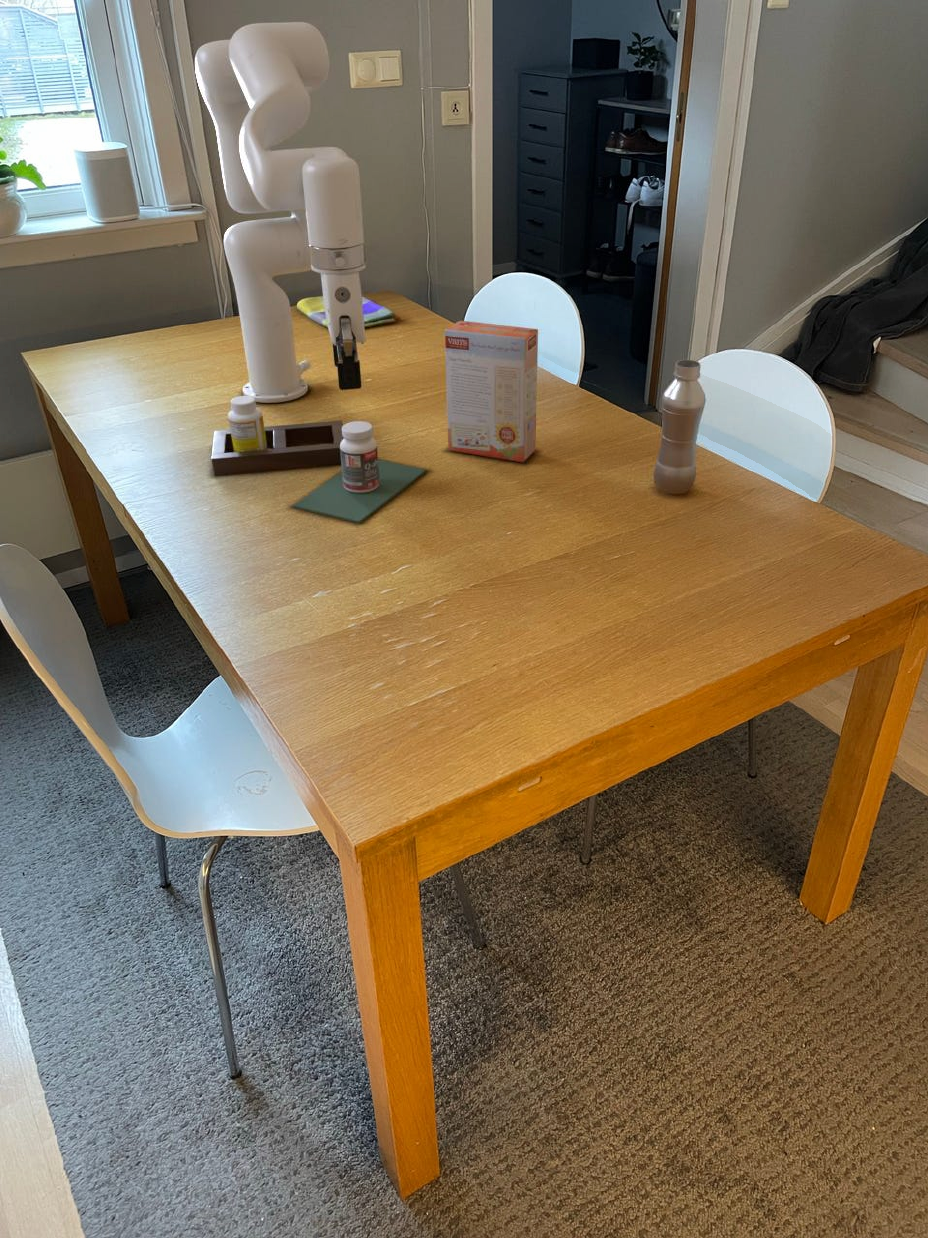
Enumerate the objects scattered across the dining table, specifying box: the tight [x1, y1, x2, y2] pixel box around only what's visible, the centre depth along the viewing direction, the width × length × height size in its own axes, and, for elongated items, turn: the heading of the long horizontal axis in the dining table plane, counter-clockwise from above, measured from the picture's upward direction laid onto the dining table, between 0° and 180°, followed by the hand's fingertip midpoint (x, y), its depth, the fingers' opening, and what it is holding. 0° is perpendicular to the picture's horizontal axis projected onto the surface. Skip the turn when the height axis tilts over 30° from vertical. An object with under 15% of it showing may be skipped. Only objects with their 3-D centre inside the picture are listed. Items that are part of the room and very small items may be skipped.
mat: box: [293, 458, 427, 524], centre depth 146 cm, size 20×12×1 cm, turn 152°
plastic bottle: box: [653, 359, 707, 495], centre depth 139 cm, size 6×7×20 cm
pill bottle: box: [340, 420, 379, 493], centre depth 144 cm, size 6×6×10 cm
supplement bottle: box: [227, 395, 268, 452], centre depth 154 cm, size 6×6×10 cm
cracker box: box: [444, 320, 539, 463], centre depth 152 cm, size 14×6×21 cm, turn 65°
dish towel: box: [296, 295, 396, 329], centre depth 225 cm, size 18×24×3 cm
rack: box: [211, 419, 344, 477], centre depth 157 cm, size 12×22×3 cm, turn 100°
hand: (347, 376), depth 138 cm, fingers open, 9 cm apart
